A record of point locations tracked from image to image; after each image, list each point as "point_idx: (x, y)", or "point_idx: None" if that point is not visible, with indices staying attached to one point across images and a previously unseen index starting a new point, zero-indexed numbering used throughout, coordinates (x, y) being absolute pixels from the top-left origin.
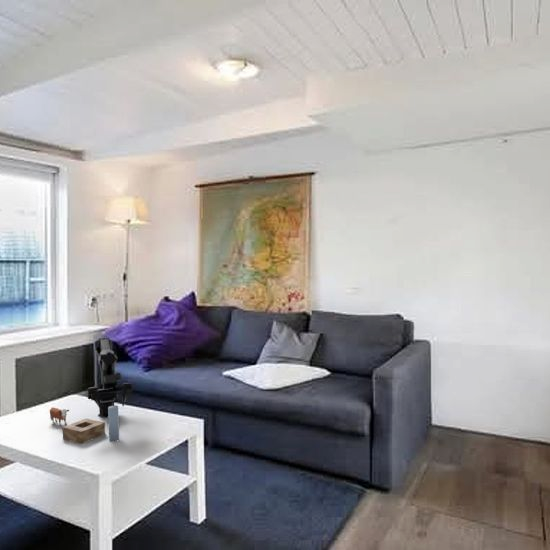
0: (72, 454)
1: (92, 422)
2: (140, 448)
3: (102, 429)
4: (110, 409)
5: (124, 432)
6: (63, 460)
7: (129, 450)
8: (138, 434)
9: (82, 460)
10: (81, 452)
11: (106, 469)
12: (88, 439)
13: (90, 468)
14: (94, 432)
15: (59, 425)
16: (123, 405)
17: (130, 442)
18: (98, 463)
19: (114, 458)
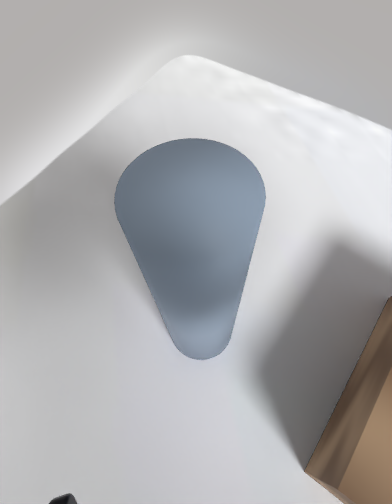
0: (361, 177)
1: None
2: (51, 194)
3: (329, 452)
4: (214, 152)
5: (151, 472)
6: (367, 133)
7: (101, 181)
8: (47, 399)
9: (284, 125)
10: (327, 191)
11: (171, 66)
12: (373, 337)
13: (227, 75)
14: (366, 377)
15: None
16: (55, 498)
17: (99, 270)
18: (210, 100)
19: (157, 126)
